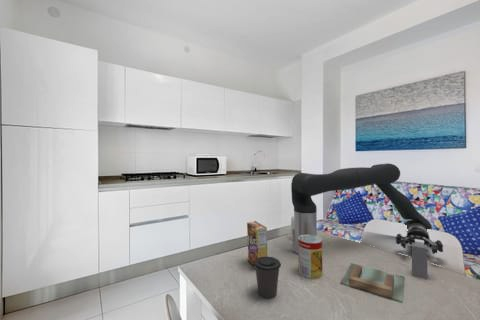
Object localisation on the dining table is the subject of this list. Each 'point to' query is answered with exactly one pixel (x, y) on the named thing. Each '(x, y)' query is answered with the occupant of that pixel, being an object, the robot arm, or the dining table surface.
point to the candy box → (256, 241)
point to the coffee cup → (267, 276)
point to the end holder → (374, 281)
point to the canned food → (310, 256)
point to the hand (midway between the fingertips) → (418, 248)
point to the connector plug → (419, 259)
